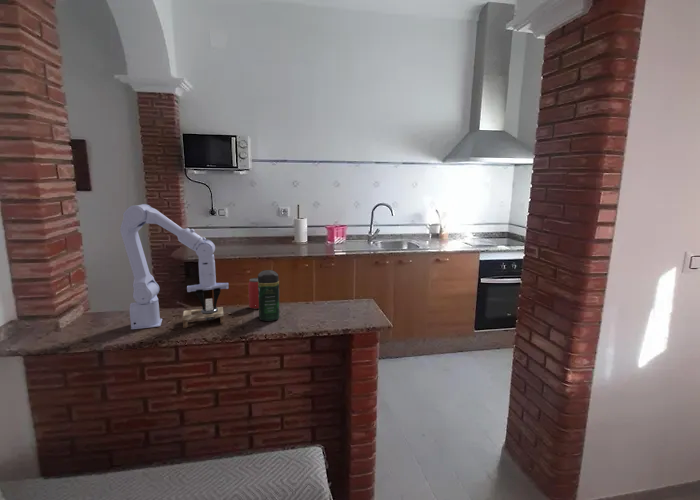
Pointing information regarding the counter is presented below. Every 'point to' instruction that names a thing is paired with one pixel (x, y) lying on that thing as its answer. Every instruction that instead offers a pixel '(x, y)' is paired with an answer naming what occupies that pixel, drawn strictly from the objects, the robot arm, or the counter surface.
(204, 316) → the keyhole bridge
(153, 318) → the robot arm
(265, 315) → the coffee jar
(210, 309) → the hanger peg
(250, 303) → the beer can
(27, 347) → the counter surface
